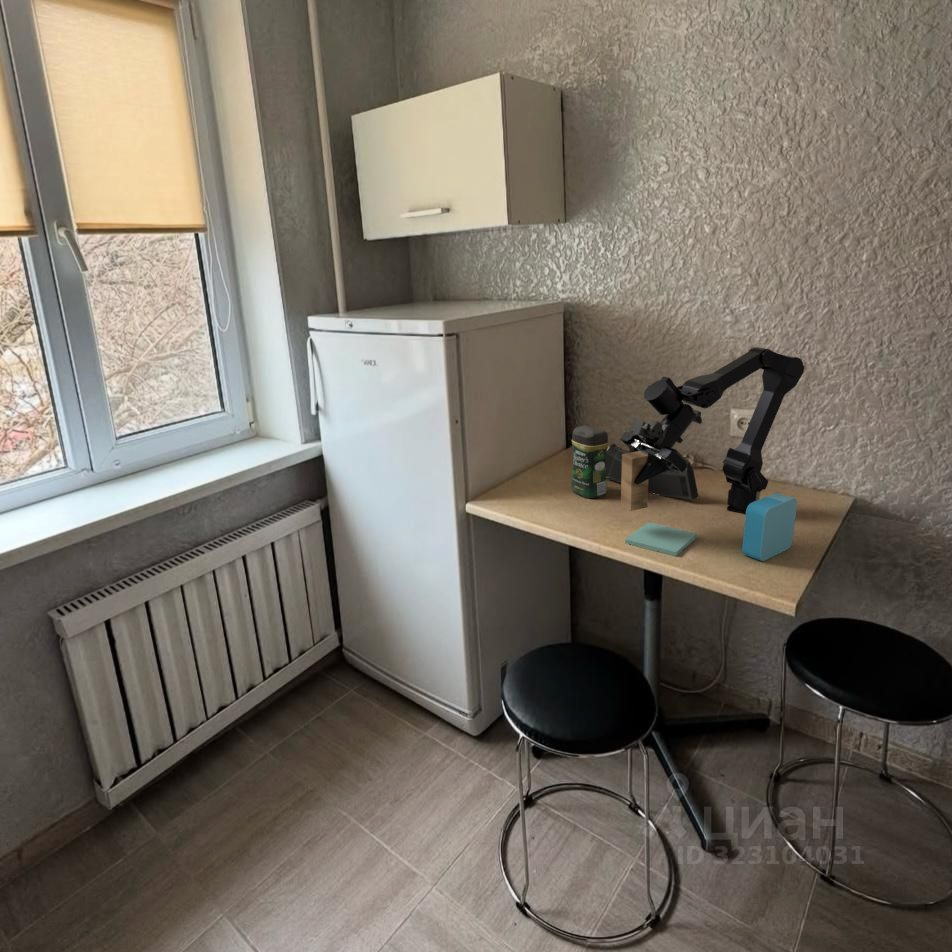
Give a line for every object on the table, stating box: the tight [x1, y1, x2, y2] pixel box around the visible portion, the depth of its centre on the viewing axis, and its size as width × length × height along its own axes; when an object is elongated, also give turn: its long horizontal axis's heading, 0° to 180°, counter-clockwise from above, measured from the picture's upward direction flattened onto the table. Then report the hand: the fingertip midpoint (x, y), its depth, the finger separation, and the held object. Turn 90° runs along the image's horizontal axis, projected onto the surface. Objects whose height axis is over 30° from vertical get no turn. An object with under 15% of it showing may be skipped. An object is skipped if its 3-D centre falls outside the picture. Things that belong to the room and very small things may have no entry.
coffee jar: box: [570, 424, 609, 499], centre depth 177 cm, size 10×8×19 cm
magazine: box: [606, 442, 699, 501], centre depth 179 cm, size 17×3×30 cm
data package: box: [741, 492, 798, 562], centre depth 140 cm, size 12×4×12 cm, turn 125°
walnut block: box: [620, 451, 649, 512], centre depth 150 cm, size 4×4×12 cm
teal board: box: [624, 521, 698, 557], centre depth 150 cm, size 12×12×1 cm
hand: (629, 480), depth 150 cm, fingers closed on walnut block, 4 cm apart
